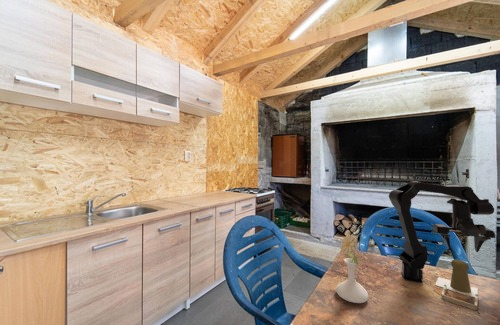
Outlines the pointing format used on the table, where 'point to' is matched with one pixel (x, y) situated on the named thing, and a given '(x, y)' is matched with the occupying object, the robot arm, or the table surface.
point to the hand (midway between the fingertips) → (462, 250)
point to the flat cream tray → (459, 300)
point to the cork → (460, 276)
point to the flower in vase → (351, 274)
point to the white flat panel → (442, 282)
